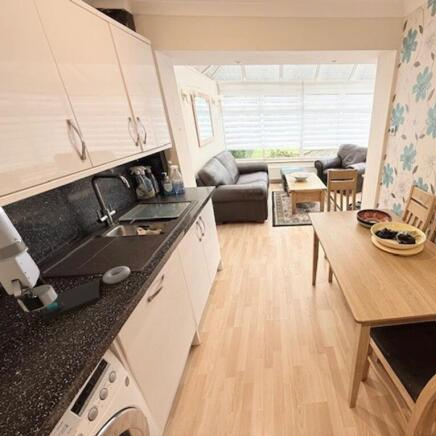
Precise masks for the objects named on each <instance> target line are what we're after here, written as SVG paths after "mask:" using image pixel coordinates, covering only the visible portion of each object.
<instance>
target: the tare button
mask: <svg viewBox="0 0 436 436" xmlns="http://www.w3.org/2000/svg"><path fill="white" fill-rule="evenodd" d="M57 306H58V305H57V303H56V302H53V303H51V304H50V305H48V306H47V309H48V310H52V309H55V308H56V307H57Z"/></svg>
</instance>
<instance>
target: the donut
mask: <svg viewBox="0 0 436 436" xmlns="http://www.w3.org/2000/svg"><path fill="white" fill-rule="evenodd" d="M130 274H131V269H130V268H129V266H125V265H121V266H116V267H114V268H113V267H112V268H111V269H109V270H107V271H106V272H105V273H104V274H103V276H102V281H103V283H105V284H106V285H115V284H119V283H121V282H123V281H124V280H126V279H127V278H128V277H130Z"/></svg>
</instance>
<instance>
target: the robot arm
mask: <svg viewBox="0 0 436 436" xmlns="http://www.w3.org/2000/svg"><path fill="white" fill-rule="evenodd" d="M28 250H29V247H28V246H27V245H26V242H25V241H24V240H23V238H22V237H21V235H20V234H19V232H18V230H17V228H16V227H15V226H14V224H13V222H12V221H11V219H10V218H9V216H8V214H7V213H6V212H5V209H3V207H2V206H0V284H1V285H2V287H3V288H4V290H5V291H6V293H7V294H8V295H9V296H14V298H15V299H17V300H18V299H19V300H20V301H21V302H22V303H23V304H24V305H25V307H26V308H27V309H28V311H29V312H28V313H32V312H35V311H34V310H37V309H39V308H42V307H44V303H43V302H42V300H41V299H40V297H39V296H38V295H35V292H34V289H33V288H35V287H39V286H42V285H47V283H46V282H45V281H44V279H43V277H42V276H41V275H40V269H39V267H38V265H37V264H36V263H35V261H34V260H33V257H31V255H30V254H29V253H28ZM27 291H29V292H30V294H29V293H26V294H25V292H27ZM42 309H43V308H42ZM37 311H38V310H37Z"/></svg>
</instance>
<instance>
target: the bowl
mask: <svg viewBox="0 0 436 436" xmlns="http://www.w3.org/2000/svg"><path fill="white" fill-rule="evenodd" d="M33 289H34V292H35V295H38V296H39V297H40V299H41V300H42V302H43V303H44V307H42V308H39V309H37V310H34V311H33V312H35V311H39V310H43V309H44V308H45V307H46V306H48V305H50V304H51V303H52V302H53V301H54V300H55V299H56V298H57V294H58V293H56V291H55V289H54V288H53V286H52V285H51V284H46V285H42V286H39V287H35V288H33ZM24 293H25V294H26V293H29V294H30V292H29V290H27V291H24ZM17 303H18V304H19V306H20V308H22V309H23V311H24V312H26V313H30V312H29V311H28V309H27V308H26V307H25V305H24V304H23V303H22V302H21V301H20V300H19V299H18V298H17Z"/></svg>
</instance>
